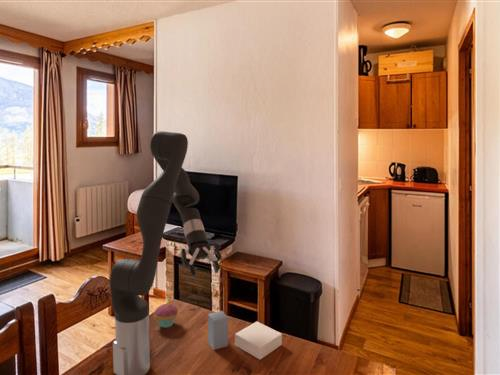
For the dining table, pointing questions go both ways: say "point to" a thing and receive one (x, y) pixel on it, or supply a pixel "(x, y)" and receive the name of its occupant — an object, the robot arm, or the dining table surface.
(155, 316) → the cupcake
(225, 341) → the block
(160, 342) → the dining table surface
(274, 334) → the base
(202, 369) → the dining table surface
